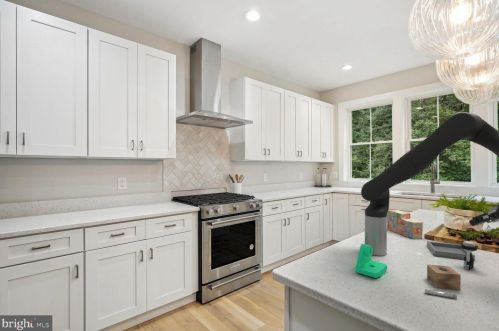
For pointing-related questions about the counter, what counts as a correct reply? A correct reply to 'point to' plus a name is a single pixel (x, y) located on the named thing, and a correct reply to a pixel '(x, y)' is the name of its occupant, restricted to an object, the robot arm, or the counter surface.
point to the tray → (447, 250)
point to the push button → (469, 253)
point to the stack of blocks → (404, 224)
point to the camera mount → (369, 263)
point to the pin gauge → (441, 294)
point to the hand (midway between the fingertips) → (481, 221)
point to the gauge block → (443, 277)
